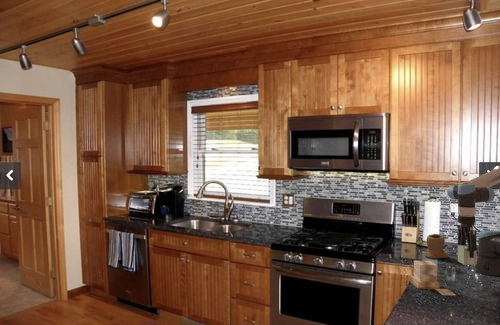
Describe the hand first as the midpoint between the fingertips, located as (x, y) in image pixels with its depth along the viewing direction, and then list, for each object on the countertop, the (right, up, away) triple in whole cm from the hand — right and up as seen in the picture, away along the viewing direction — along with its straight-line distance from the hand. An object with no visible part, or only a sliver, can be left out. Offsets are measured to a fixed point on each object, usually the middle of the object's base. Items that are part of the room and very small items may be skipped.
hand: (467, 262), depth 189 cm
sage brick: (0, 0, 0) cm, 0 cm away
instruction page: (-16, -12, -9) cm, 22 cm away
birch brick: (-20, -9, +1) cm, 22 cm away
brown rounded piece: (+12, -12, +54) cm, 57 cm away
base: (-21, -12, +1) cm, 24 cm away
